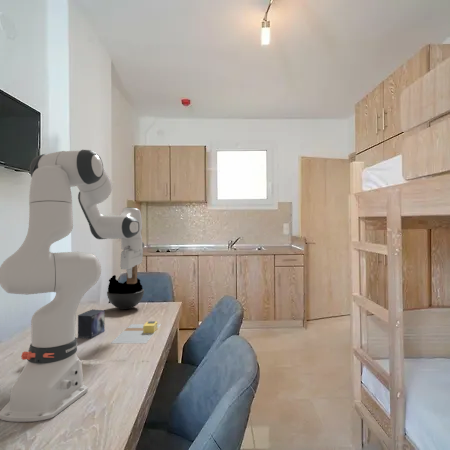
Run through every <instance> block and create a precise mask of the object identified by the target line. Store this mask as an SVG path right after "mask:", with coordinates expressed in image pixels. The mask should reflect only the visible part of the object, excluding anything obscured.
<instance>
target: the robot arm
mask: <svg viewBox="0 0 450 450" xmlns="http://www.w3.org/2000/svg"><path fill="white" fill-rule="evenodd" d="M29 175H30V177H31V180H30V185H29V196H28V197H29V198H28V201H29V202H28V205H29V206H28V207H29V209H28V210H29V211H28V212H29V213H28V216H29V217H28V228H27V229H28V230H27V234H26V236H25V239H24V241H23V242H22V244H21V246H20V247H18V249H17V250H16V251H15V252H14V253H13V254H11V255H10V256H8V257H7V258H6V259H4V261H3V262H2V263H1V265H0V287H1V288H2V289H3V291H5V292H6V293H7V294H14V295H35V294H36V295H37V294H45V293H46V294H47V293H55V296H54V297H53V299H52V300H51V301H50V302H48V303H46V304H44V305H43V306H41V307H39V308H38V309H37V310H36V311H35V312H34V313H33V315H32V316H31V320H30V325H31V326H30V327H31V328H30V329H31V331H30V332H31V336H30V337H31V339H30V340H31V343H30V345H29V348H28V350H27V351H23V352H22V353H21V356H20V357H21V359H22V361H23V360H25V361H26V360H27V362H25V363H26V364H25V365H24V367H23V368H22V369H21V372H20V374H18V377H17V378H16V381H14V383H13V385H12V387H11V390H10V395H9V401H8V402H7V403H6V404H5V406H4V407H3V408H2V409H1V410H0V420H2V421H5V422H6V421H7V422H15V423H16V422H18V423H19V422H24V423H26V422H37V421H38V422H39V421H40V422H41V421H44V420H45V421H46V420H49V419H53V418H54V417H56V416H57V415H58V414H59V413H61V412H62V411H63V410H65V409H66V408H68V406H70V405H72V404H73V403H74V402H76V400H78V399H79V398H81V397H82V396H84V395H85V394H86V393H88V391H89V388H88V386H87V385H85V384H84V375H83V366H82V365H83V364H82V361H81V359H80V358H79V356H78V355H77V352H78V339H77V338H78V337H76V318H77V310H78V308H79V304H80V303H81V300H82V299H83V297H84V296H85V295H86V293H87V292H88V291H89V290H90V289H91V288H92V287H94V286H95V285H96V284H97V282H98V281H99V280H100V278H101V274H102V266H101V262H100V260H99V259H98V257H97V256H96V255H95V254H93V253H89V252H83V251H81V252H80V251H65V252H52V251H50V248H51V246H52V244H54V243H56V242H59V241H60V240H62V239H64V238H66V237H68V236H69V235H70V234H71V233H72V231H73V226H74V219H73V215H74V214H73V198H72V197H73V196H72V189H71V188H73V187H77V188H78V190H79V192H78V195H77V199H78V204H79V206H80V208H81V210H82V213H83V215H84V216H85V219H86V221H87V224H88V225H89V230H90V233H91V235H92V236H93V238H95V239H97V240H109V239H110V240H112V239H114V240H115V239H116V240H117V239H118V240H119V239H120V244H121V245H120V249H121V253H120V262H119V263H120V265H119V266H120V269H121V270H126V275H127V274H128V278H132V277H133V273H132V267H134V266H135V265H137V266H139V265H141V264H142V263H143V255H144V254H143V253H144V249H143V248H145V243H144V242H143V235H142V230H143V218H142V213H141V210H140V209H138V208H137V207H136V208H135V207H128V206H127V207H124V208H122V211H121V213H120V214H119V215H118V214H117V215H109V214H108V215H106V214H102V213H101V212H100V210H99V208H98V205H99V204H101V203H103V202H105V201H106V200H107V199H108V198H109V197H110V195H111V193H112V191H113V183H112V180H111V179H110V176H109V175H108V173H107V171H106V169H105V168H104V164H103V160H102V158H101V156H100V155H99V154H97V152H96V151H93V150H91V149H80V150H68V151H67V150H61V151H54V152H50V153H44V154H39V155H37V156H35V157H34V158H33V159H32V160H31V162H30V165H29Z"/></svg>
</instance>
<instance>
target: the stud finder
mask: <svg viewBox="0 0 450 450" xmlns="http://www.w3.org/2000/svg"><path fill="white" fill-rule="evenodd" d="M157 324H158V321H156V320H155V321H150V320H148V321H146V322H145V323H144V326H143V333H154V332H155V331H156V330H157V331H158V329H157ZM157 331H156V332H157ZM156 332H155V333H156ZM155 333H154V334H155Z"/></svg>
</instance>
